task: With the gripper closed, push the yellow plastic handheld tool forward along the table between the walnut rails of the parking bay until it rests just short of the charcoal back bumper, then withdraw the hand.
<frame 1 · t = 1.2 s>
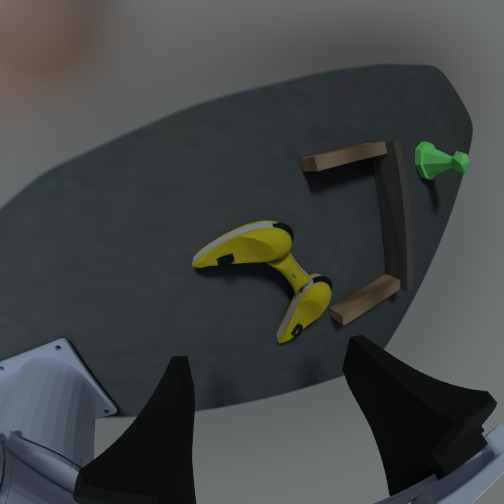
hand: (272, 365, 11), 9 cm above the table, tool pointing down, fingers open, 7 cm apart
yellow plastic handheld tool: (262, 274, 21), on the table
game piece: (423, 160, 25), on the table
parking bay: (350, 231, 23), on the table
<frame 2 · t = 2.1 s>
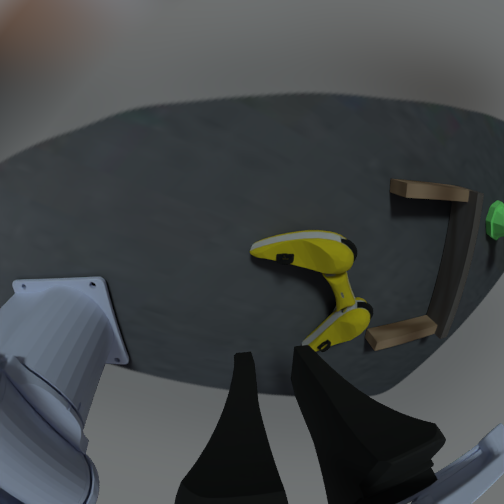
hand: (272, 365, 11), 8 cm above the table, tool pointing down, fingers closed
yellow plastic handheld tool: (311, 281, 20), on the table
game piece: (493, 218, 21), on the table
parking bay: (412, 263, 21), on the table
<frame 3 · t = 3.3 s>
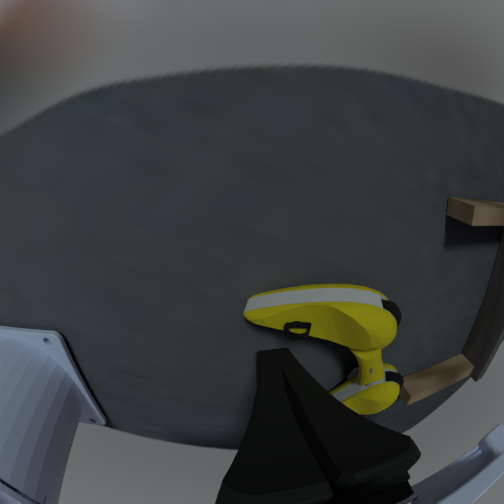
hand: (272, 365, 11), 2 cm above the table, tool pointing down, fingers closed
yellow plastic handheld tool: (327, 342, 14), on the table, touching gripper
parking bay: (457, 301, 15), on the table
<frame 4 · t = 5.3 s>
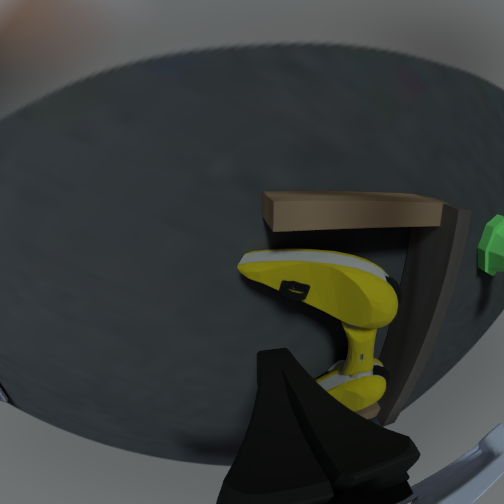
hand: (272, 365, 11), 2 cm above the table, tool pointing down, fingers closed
yellow plastic handheld tool: (315, 324, 14), on the table, touching gripper
game piece: (490, 243, 14), on the table
parking bay: (329, 330, 13), on the table
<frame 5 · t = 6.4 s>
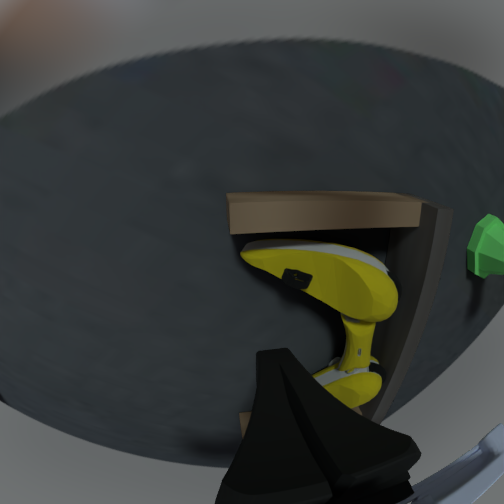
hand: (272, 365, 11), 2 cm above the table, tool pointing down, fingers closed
yellow plastic handheld tool: (312, 319, 14), on the table
game piece: (481, 243, 14), on the table
parking bay: (304, 334, 13), on the table
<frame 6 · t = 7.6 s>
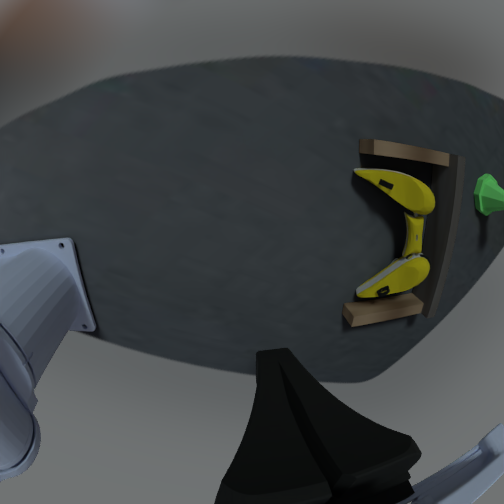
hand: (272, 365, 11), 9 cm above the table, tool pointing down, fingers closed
yellow plastic handheld tool: (382, 227, 20), on the table
game piece: (482, 193, 20), on the table
parking bay: (390, 232, 20), on the table
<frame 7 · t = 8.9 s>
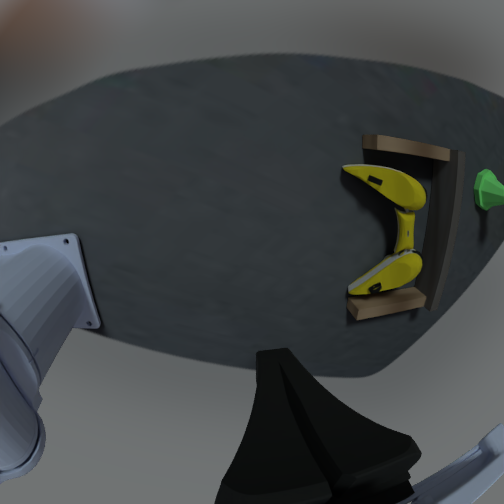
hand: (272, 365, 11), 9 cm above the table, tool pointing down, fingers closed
yellow plastic handheld tool: (373, 223, 21), on the table
game piece: (482, 188, 21), on the table
parking bay: (393, 226, 20), on the table
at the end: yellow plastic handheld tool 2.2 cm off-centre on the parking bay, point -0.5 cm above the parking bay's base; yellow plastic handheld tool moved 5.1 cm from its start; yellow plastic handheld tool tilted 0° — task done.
